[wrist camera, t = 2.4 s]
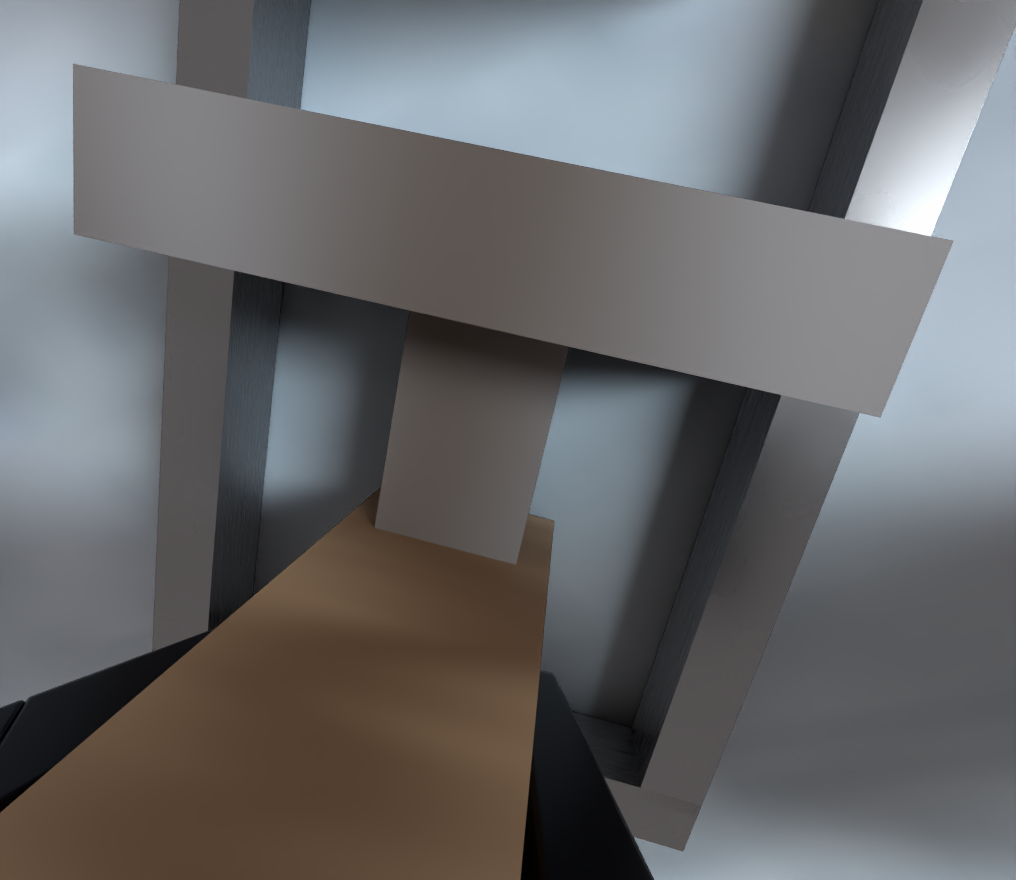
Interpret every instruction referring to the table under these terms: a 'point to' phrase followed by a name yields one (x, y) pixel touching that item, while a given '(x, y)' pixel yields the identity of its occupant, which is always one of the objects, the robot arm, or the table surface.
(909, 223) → the frame
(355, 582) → the press carriage
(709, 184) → the table surface
